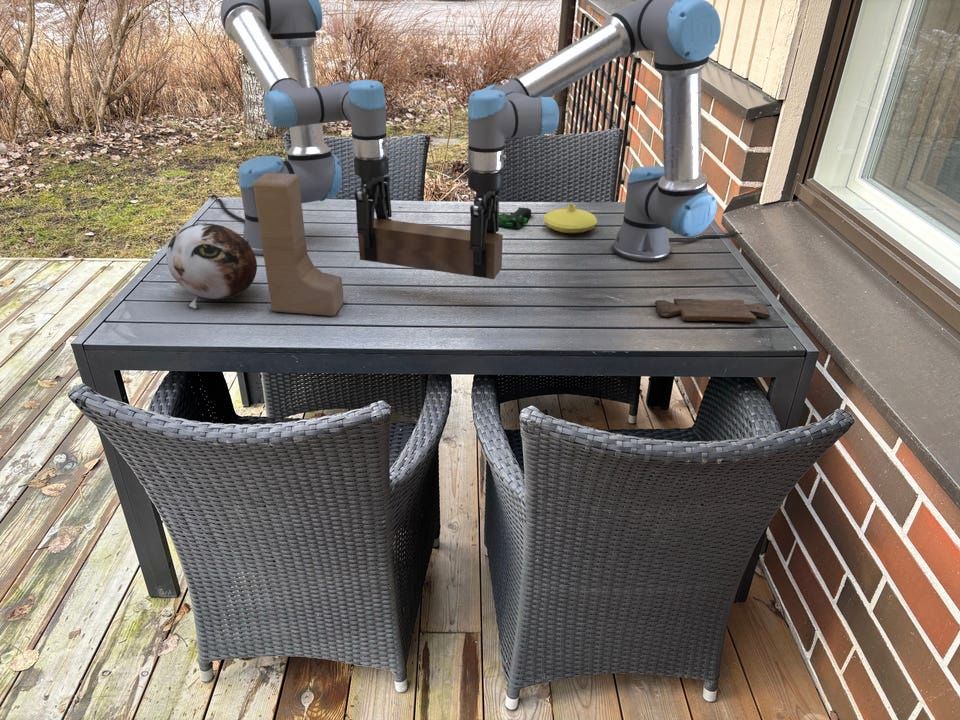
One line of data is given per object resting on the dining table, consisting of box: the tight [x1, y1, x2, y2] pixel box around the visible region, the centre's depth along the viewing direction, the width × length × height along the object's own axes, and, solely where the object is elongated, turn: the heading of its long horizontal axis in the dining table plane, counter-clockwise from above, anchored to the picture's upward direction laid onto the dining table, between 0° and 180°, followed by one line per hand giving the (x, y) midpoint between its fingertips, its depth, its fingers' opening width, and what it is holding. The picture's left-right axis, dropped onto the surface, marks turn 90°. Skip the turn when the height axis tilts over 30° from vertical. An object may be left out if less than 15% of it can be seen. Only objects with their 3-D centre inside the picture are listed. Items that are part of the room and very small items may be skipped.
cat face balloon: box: [165, 222, 258, 309], centre depth 165 cm, size 22×18×20 cm
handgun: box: [499, 206, 532, 230], centre depth 216 cm, size 16×3×15 cm
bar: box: [357, 217, 504, 280], centre depth 163 cm, size 33×6×8 cm, turn 72°
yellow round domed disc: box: [543, 203, 598, 234], centre depth 209 cm, size 16×16×7 cm
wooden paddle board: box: [654, 298, 771, 323], centre depth 165 cm, size 26×2×10 cm
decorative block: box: [253, 173, 345, 317], centre depth 157 cm, size 8×15×30 cm, turn 82°
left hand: (377, 254), depth 169 cm, fingers closed on bar, 6 cm apart
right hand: (484, 270), depth 162 cm, fingers closed on bar, 6 cm apart
